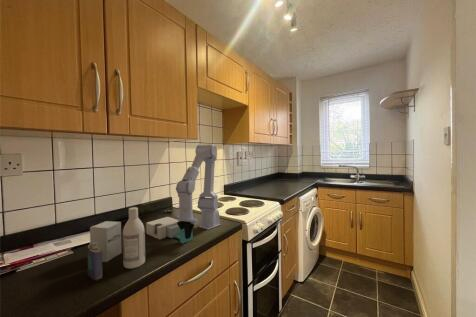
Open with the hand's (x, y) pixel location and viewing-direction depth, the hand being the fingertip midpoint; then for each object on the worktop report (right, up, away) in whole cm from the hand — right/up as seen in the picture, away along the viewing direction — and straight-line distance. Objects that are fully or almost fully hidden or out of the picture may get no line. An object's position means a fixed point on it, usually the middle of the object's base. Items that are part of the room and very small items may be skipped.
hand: (186, 237), depth 91 cm
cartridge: (-7, -2, +6) cm, 9 cm away
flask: (-24, -3, -25) cm, 34 cm away
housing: (-14, -2, +11) cm, 18 cm away
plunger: (-15, 0, +6) cm, 16 cm away
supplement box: (-27, -3, -13) cm, 30 cm away
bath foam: (-14, -3, -18) cm, 23 cm away
